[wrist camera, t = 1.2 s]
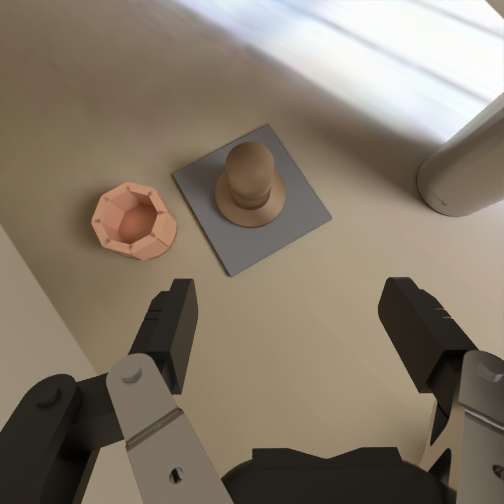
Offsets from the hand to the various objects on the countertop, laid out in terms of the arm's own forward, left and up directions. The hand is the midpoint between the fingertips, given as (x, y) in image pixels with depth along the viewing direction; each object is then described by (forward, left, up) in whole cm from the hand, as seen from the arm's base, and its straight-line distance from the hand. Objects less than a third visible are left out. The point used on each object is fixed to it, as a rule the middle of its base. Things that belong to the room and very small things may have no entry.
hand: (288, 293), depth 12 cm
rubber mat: (-6, -13, -22) cm, 27 cm away
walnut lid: (-6, -13, -22) cm, 26 cm away
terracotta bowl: (+8, -16, -22) cm, 29 cm away
